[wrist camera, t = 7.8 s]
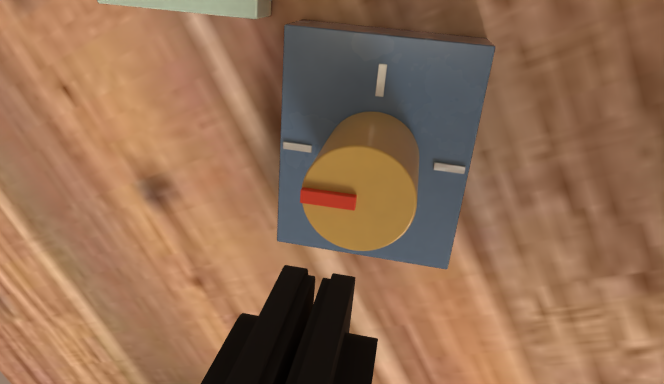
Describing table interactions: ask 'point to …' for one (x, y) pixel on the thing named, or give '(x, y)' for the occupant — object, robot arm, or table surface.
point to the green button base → (204, 6)
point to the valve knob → (363, 183)
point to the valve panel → (390, 98)
